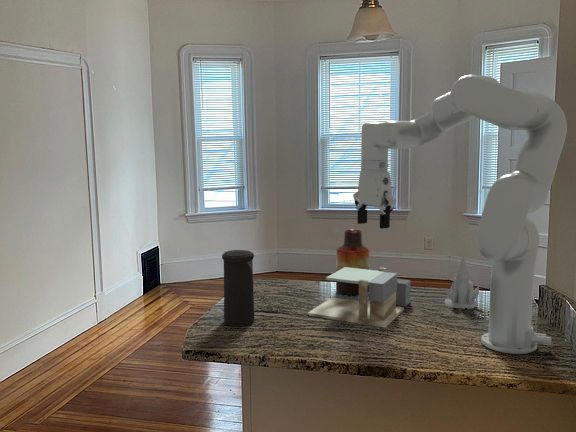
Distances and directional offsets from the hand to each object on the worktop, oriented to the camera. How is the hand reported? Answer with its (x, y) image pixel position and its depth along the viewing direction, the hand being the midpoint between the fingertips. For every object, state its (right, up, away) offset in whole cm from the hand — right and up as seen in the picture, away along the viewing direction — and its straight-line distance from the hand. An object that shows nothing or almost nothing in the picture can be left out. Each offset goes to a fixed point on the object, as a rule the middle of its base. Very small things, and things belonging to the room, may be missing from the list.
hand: (373, 225), depth 160 cm
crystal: (+28, -24, +9) cm, 38 cm away
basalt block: (+9, -24, +9) cm, 27 cm away
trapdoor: (-3, -19, -1) cm, 19 cm away
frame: (-5, -25, +1) cm, 26 cm away
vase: (-3, -22, +22) cm, 32 cm away
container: (-38, -27, -7) cm, 47 cm away
